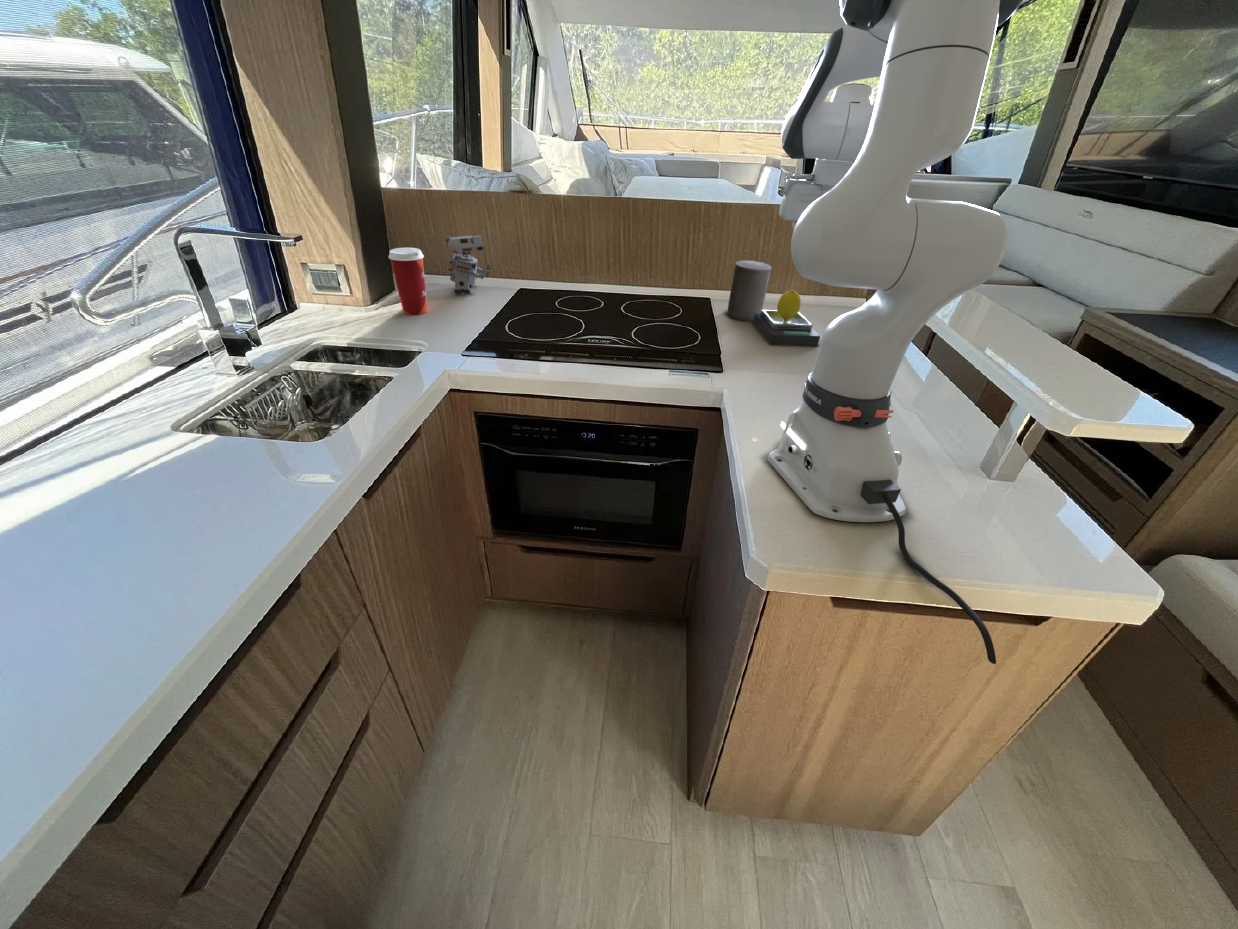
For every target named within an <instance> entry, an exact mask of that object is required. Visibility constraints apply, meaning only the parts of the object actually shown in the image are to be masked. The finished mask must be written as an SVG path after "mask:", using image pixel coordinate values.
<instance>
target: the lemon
mask: <svg viewBox="0 0 1238 929" xmlns="http://www.w3.org/2000/svg"><path fill="white" fill-rule="evenodd" d="M801 303H802V302H801V296H800V294H799V293H798V292H796V291H795V289H790V290H787V291H785V292H783V293H782V294H781V296H780V297H779V300H778V302H777V308H776V310H777V311H778V314H779V316H780V317H782V318H783V319H784V321H787V320H789V319H791V318H793V317H795V316H796V315H797V313H798V312H799V311H800V309H801V305H802V304H801ZM799 313H800V312H799Z"/></svg>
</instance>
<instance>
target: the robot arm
mask: <svg viewBox="0 0 1238 929" xmlns="http://www.w3.org/2000/svg"><path fill="white" fill-rule="evenodd" d="M1023 1H1024V0H839V1H838V2H839V6H840V8H839V13H840V17H841V18H842V19H843V21H844V23H845V25H843V26H842V27H840V28H838V29H836V30H835V31H833V32H832V33H831V34H830V36H829V37H828V39H827V40H826V42H825V44H824V45H823V47H822V49H821V51H820V53H819V55H818V56H817V59H816V61H815V62H814V65H813V66H812V68H811V70H810V73H809V74H808V76H807V79H806V80H805V83H804V85H803V86H802V88H801V90H800V92H799V94H798V97H797V98H796V100H795V102H794V103H793V104H792V105H791V106H790V109H789V111H788V113H787V114H786V116H785V120H784V122H783V125H782V129H781V136H780V140H781V142H780V143H781V149H783V151H784V152H785V154H786V155H787V156H788V157H789V158H790V159H791V160H807V159H812V160H813V159H815V160H814V166H813V169H812V173H811V174H809V173H804V174H801V173H794V174H792V175H790V176H789V177H788V178H786V180H785V183H784V186H783V196H782V199H781V202H780V206H779V209H778V215H779V217H780V219H781V220H783V221H792V222H791V227H792V230H793V231H792V235H791V240H790V256H791V260H792V264H793V265H794V268H795V270H796V271H797V273H798V274H799V275H800V277H801V278H804V279H806V280H810V281H813V282H816V283H820V284H824V285H827V286H831V287H835V288H837V287H838V288H848V289H850V288H851V289H862V290H863V289H864V290H876V291H875V292H874V294H873V295H872V296H871V297H870V298H869V299H868V300H867V301H866V302H865V303H864V304H862V305H861V306H860V307H857V308H855V309H853V310H850V311H848V312H845V313H843V314H841V315H839V316H837V317H836V318H834V319H833V320H832V321H831V322H830V323H829V324H828V325H827V326H826V328H825V329H824V331H823V333H822V336H821V340H820V344H819V347H818V351H817V353H816V354H817V355H816V357H815V362H814V365H813V367H812V368H813V369H812V371H811V372H810V373H809V374H808V376H807V379H806V381H805V383H804V387H803V393H802V401H801V402H800V404H799V405H798V406H797V407H796V409H794V411H792V412H791V414H789V416H788V419H787V422H786V423H785V422H784V421H781V423H780V427H781V428H782V429H783V432H782V434H781V438H780V441H779V444H778V446H777V448H776V449H774V450H772V451H770V452H769V454H768V456H767V461H768V462H769V464H770V465H771V466H772V467H773V468H774V469H775V471H776V472H777V473H778V474H779V475H780V476H781V478H782V479H783V480H784V481H785V482H786V483H787V485H788V486H789V487H790V488H791V489H792V490H793V492H794V493H795V494H796V495H797V496H798V497H799V498H800V499H801V501H802V502H803V503H804V504H805V506H807V507H808V509H809V510H810V511H811V512H812V513H813V514H815V515H818V516H820V517H823V518H827V519H831V520H836V521H840V522H851V523H879V522H880V523H881V522H888V521H893V520H894V521H895V524H896V528H897V533H898V534H897V535H898V547H899V551H900V553H901V555H902V556H903V559H904V560H905V561H906V562H907V563H908V565H910V566H911V567H912V568H913V569H914V570H915V571H917V572H918V573H919V574H920V575H921V576H923V577H924V578H925V579H926V580H927V581H928V582H929V583H931V584H932V585H934V586H935V587H936V588H938V589H939V590H940V591H942V592H943V593H945V594H946V595H948V596H949V597H950V598H951V599H952V600H953V601H954V602H955V603H956V604H957V606H959V607H960V608H961V609H962V610H963V612H964V613H965V614H966V615H967V616H968V617H969V618H970V619H971V620H972V622H973V624H975V626H976V628H977V629H978V630H979V632H980V634H981V637H982V640H983V643H984V646H985V650H986V655H987V656H986V657H987V660H988V662H989V663H991V664H992V665H996V664H997V657H996V651H995V647H994V643H993V640H992V636H991V634H990V631H989V630H988V627H987V626H986V624H985V623H984V621H983V620H982V619H981V617H980V616H979V615H978V614H977V613H976V612H975V610H973V608H972V607H970V605H969V604H968V603H966V601H965V600H964V599H962V597H961V596H960V595H959V594H958V593H957V592H955V591H954V590H953V589H952V588H950V587H949V586H948V585H947V584H944V583H943V582H942V581H940V580H939V579H938V578H936V577H935V576H934V575H933V574H931V573H930V572H929V571H928V570H927V569H925V567H923V566H922V565H921V564H919V562H917V561H916V560H915V559H914V558H913V557H912V556H911V555H910V552H909V551H908V549H907V546H906V531H905V525H904V522H903V520H902V518H901V517H903V516H904V515H905V514H906V511H907V507H906V505H905V503H904V500H903V499H902V496H901V495H900V493H901V491H902V489H901V488H900V487H899V486H898V485H897V482H898V478H899V467H900V466H901V463H902V460H903V456H902V453H901V452H900V451H896V450H895V451H894V447H893V443H892V439H891V432H889V429H888V425H887V424H888V423H887V421H888V420H889V418H890V419H891V418H892V416H891V415H890V414H892V413H894V410H892V409H890V407H891V405H892V400H891V399H892V398H891V397H892V390H891V387H892V385H893V382H894V380H895V377H896V375H897V372H898V370H899V368H900V366H901V363H902V362H903V359H904V358H905V355H906V353H907V350H908V348H909V347H910V345H911V343H912V342H913V340H914V339H915V337H916V336H917V334H918V333H919V332H920V331H921V330H922V328H923V327H924V326H926V324H927V323H928V322H929V321H930V320H931V319H932V318H933V317H934V316H935V315H936V314H938V313H939V311H940V310H942V309H944V307H945V306H947V305H949V304H950V303H951V302H953V301H955V300H956V299H958V298H959V297H960V296H963V295H965V294H966V293H969V292H970V291H973V290H975V289H977V288H978V287H980V286H981V285H983V284H984V283H985V282H987V280H989V278H990V277H992V276H993V274H994V273H995V272H996V270H997V269H998V267H999V266H1000V264H1001V262H1002V261H1003V258H1004V257H1005V253H1006V250H1007V244H1008V232H1007V226H1006V223H1005V220H1004V219H1003V217H1002V215H1000V213H998V212H996V211H994V210H991V209H988V208H985V207H982V206H978V205H976V204H971V203H968V202H965V201H956V200H942V199H927V198H913V197H912V198H911V197H909V196H908V192H909V188H910V185H911V182H912V180H913V178H914V177H915V175H916V174H917V172H919V171H922V170H925V169H928V168H929V167H931V166H934V165H935V164H938V163H940V162H942V161H943V160H944V161H945V159H947V158H949V157H950V156H952V155H953V154H955V153H956V152H957V151H958V150H959V149H960V148H961V147H962V146H963V145H964V143H965V142H966V141H967V139H968V138H969V136H970V134H971V132H972V131H973V129H974V124H975V120H976V117H977V116H976V115H977V112H978V108H979V104H980V99H981V96H982V91H983V88H984V83H985V80H986V75H987V71H988V67H989V63H990V59H991V55H992V50H993V46H994V42H995V36H996V31H997V27H999V26H1001V25H1003V24H1004V23H1005V22H1006V21H1007V20H1008V19H1010V17H1011V16H1013V14H1015V13H1016V11H1017V10H1018V9H1019V8H1020V6H1021V5H1022V3H1023ZM879 77H880V78H879ZM872 78H873V79H874V78H879V83H878V89H877V94H876V98H875V102H874V105H873V100H874V94H875V93H874V89H873V87H872V86H870V85H868V84H866V83H858V82H857V83H856V82H855V81H861V80H865V79H866V80H867V79H872ZM852 82H853V83H852ZM833 89H835V90H834V92H833V94H832V97H831V99H830V101H826V99H827V97H828V96H829V94H830V92H831V91H832V90H833Z"/></svg>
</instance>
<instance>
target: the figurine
mask: <svg viewBox="0 0 1238 929" xmlns="http://www.w3.org/2000/svg"><path fill="white" fill-rule="evenodd" d="M445 246H446V248H447V249H448V250H454V251H453V252H451V256H450V257H449V259H448V271H449V277H450V278H449V280H450V281H451V282H453V283H454V288H455V289H454V294H456V295H461V296H462V295H469V296H470V294H471V289H470V288H472V287H473V286H474V285H475V284H476V282H477V279H481V280H484V279H485V277H486V278H487V279H489V276H488V275H489V274H490V272H489V271H491V270H492V268H491V266H490V265H489V264H488V265H487V267H486V268H485V269H484V268H483V269H482V268H481V267H479V266H478V258H476V257H474V256H473V255H472V252H479V251H480V252H481V251H485V244H484V239H483V238H482V236H481V234H473V235H472V234H471V235H463V236H462V235H461V236H452V237H451V236H450V237H447V238H446V240H445ZM488 270H489V271H488ZM479 273H480V274H479Z"/></svg>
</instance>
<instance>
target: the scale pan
mask: <svg viewBox="0 0 1238 929" xmlns="http://www.w3.org/2000/svg"><path fill="white" fill-rule="evenodd" d="M760 316H761V317H762V318H763V319H764V320H765V322H766V323H767V324H768V325H769V326H770V327H771V329H772V330H792V331H811V330H812V329H813V327H814V326H813V323H811V321H809V320H808V319H807V318H806V317H805V316H804V315H803V314H802V313H801V312H798V313H797V315H796V316H795V317H793V318H791V319H789V320H787V321H784V319H783V318H782V317H780V316H779V314H778V311H777V309H763V310H761V315H760Z"/></svg>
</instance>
